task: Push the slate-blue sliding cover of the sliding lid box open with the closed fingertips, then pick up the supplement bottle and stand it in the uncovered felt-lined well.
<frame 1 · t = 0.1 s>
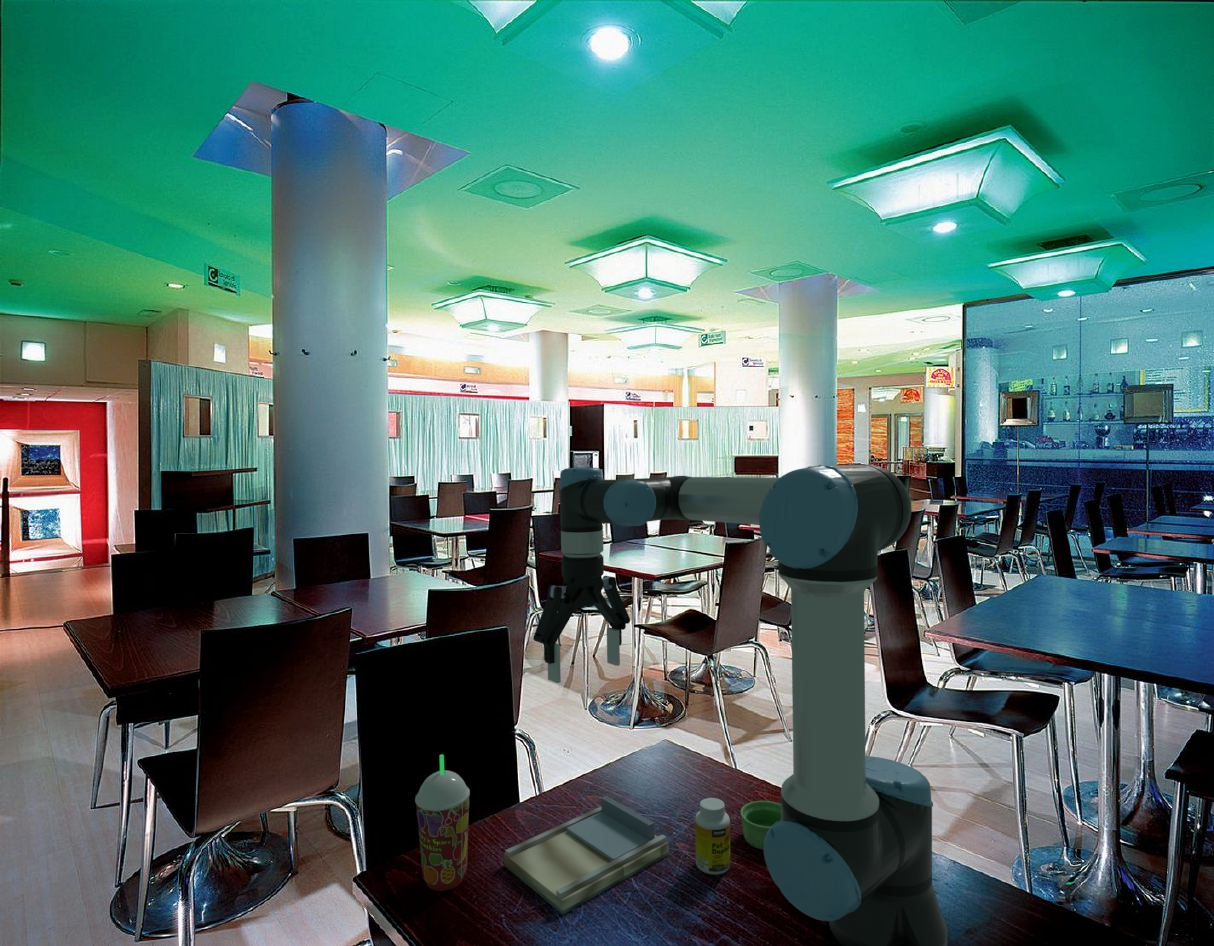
hand: (585, 672, 122), 28 cm above the table, fingers open, 13 cm apart
sliding lid box: (587, 859, 113), on the table
cover: (609, 826, 116), point 4 cm above the table, slide at 0.0 cm
ramekin: (767, 839, 118), on the table
supplement bottle: (713, 867, 110), on the table
smoothie: (445, 881, 108), on the table
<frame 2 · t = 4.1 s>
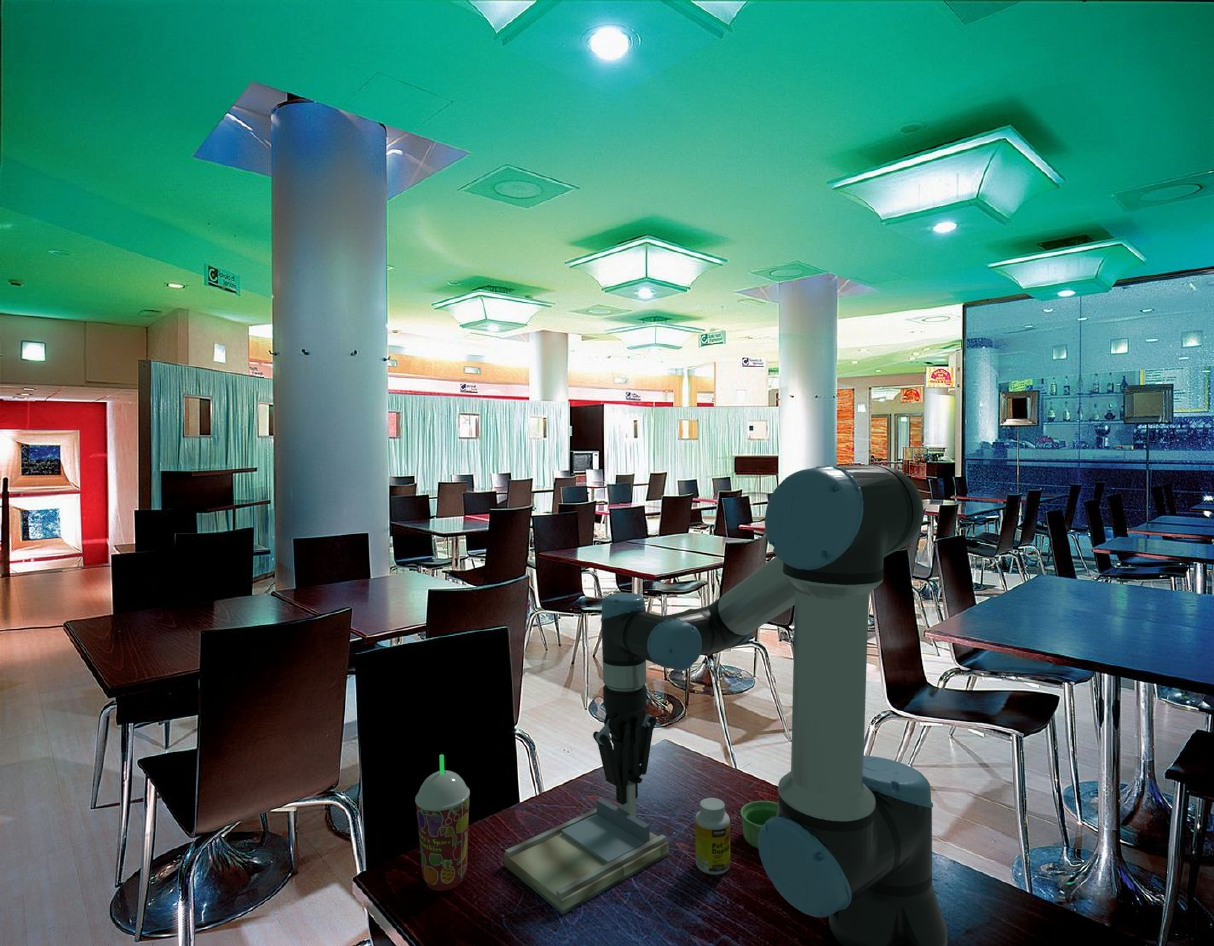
hand: (627, 818, 119), 3 cm above the table, fingers closed
cover: (604, 829, 115), point 4 cm above the table, slide at 1.1 cm, touching gripper
everything else where it was.
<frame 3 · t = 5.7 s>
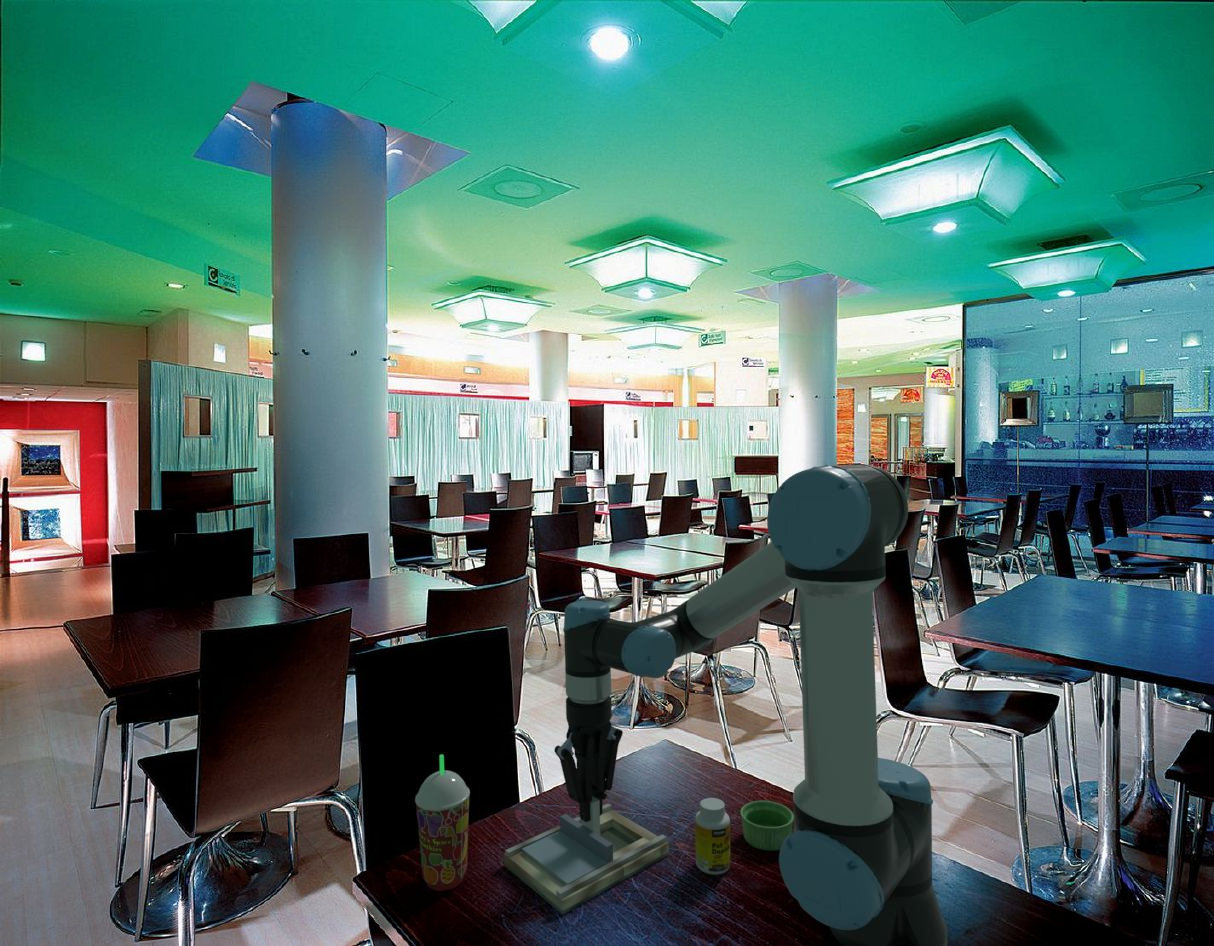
hand: (591, 836, 113), 3 cm above the table, fingers closed
cover: (566, 847, 110), point 4 cm above the table, slide at 9.2 cm, touching gripper
everything else where it was.
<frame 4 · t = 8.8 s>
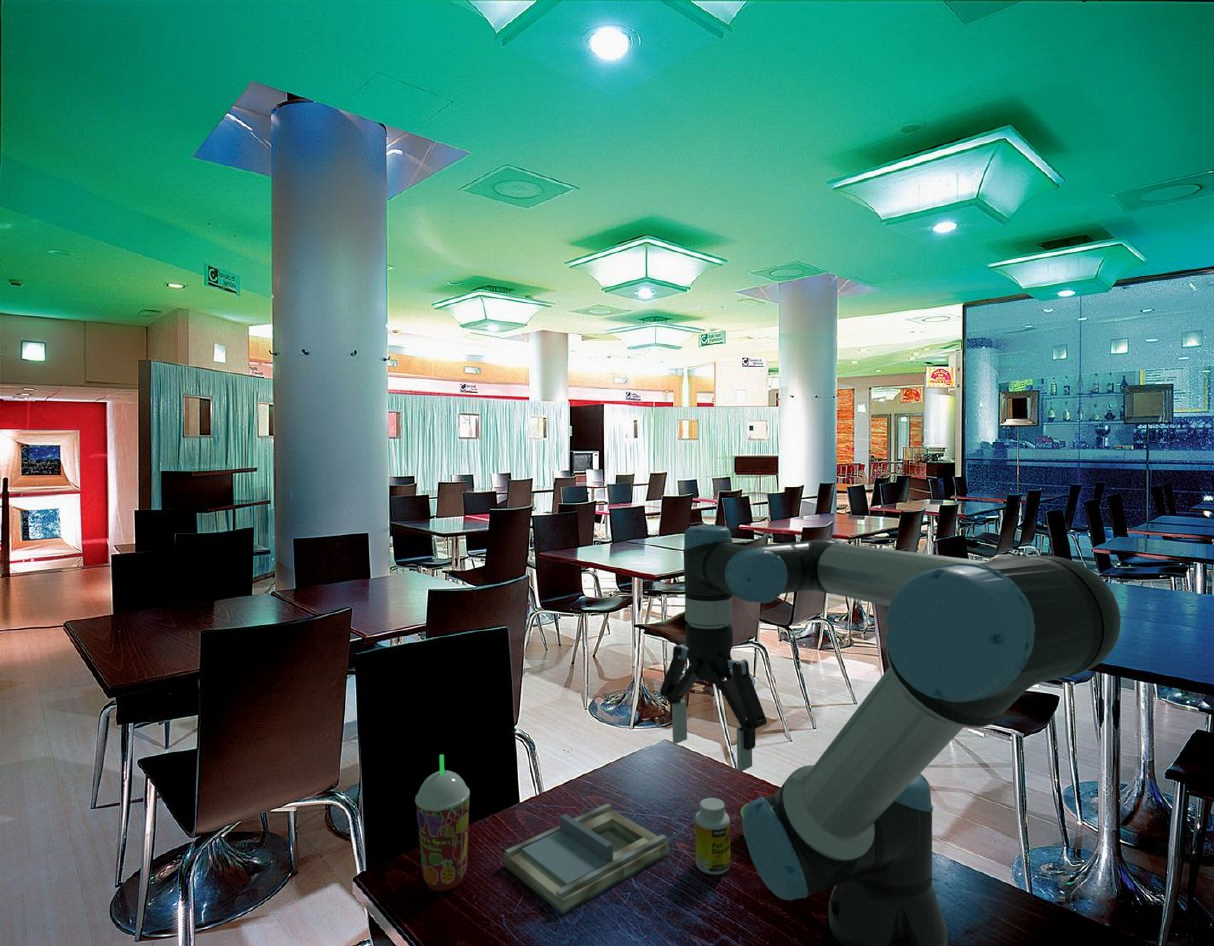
hand: (710, 754, 110), 18 cm above the table, fingers open, 13 cm apart
cover: (566, 847, 110), point 4 cm above the table, slide at 9.2 cm
everything else where it was.
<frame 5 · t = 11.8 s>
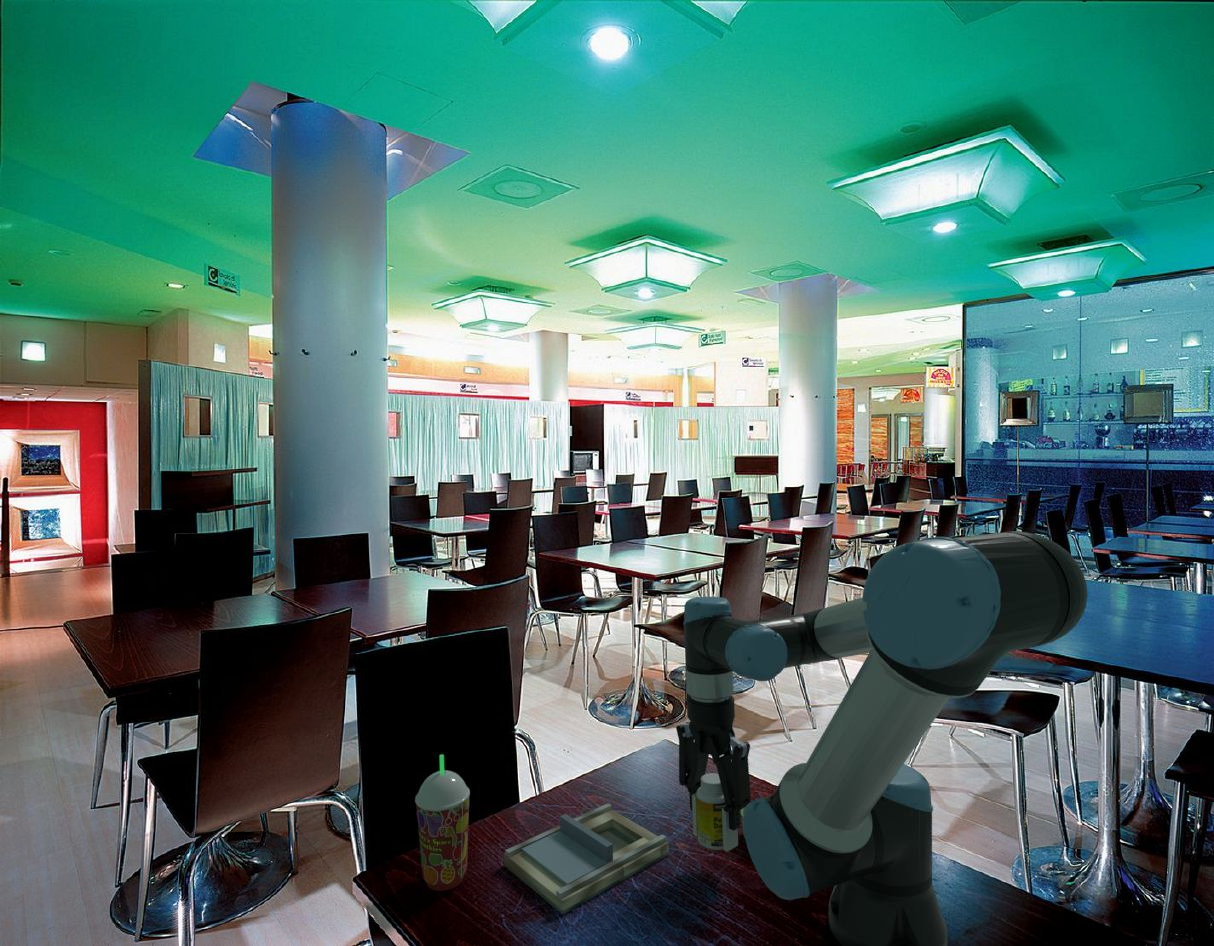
hand: (715, 839, 109), 5 cm above the table, fingers closed on supplement bottle, 6 cm apart
supplement bottle: (715, 843, 109), point 4 cm above the table, touching gripper
everything else where it was.
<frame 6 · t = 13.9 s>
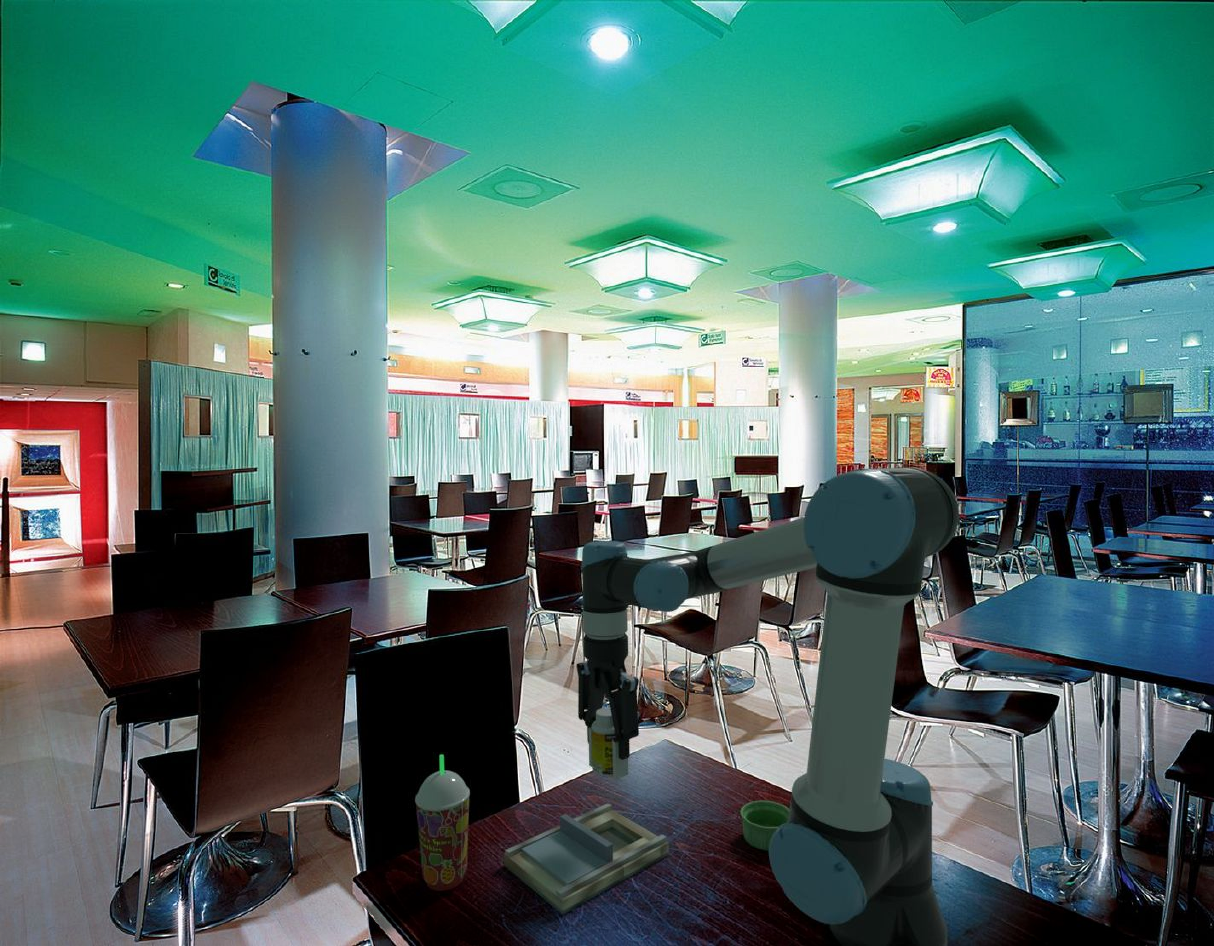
hand: (608, 769, 116), 13 cm above the table, fingers closed on supplement bottle, 6 cm apart
supplement bottle: (608, 772, 116), point 13 cm above the table, touching gripper
everything else where it was.
when the fingers open (2 cm above the table, at t = 16.1 s): supplement bottle drops 1 cm, resting on sliding lid box.
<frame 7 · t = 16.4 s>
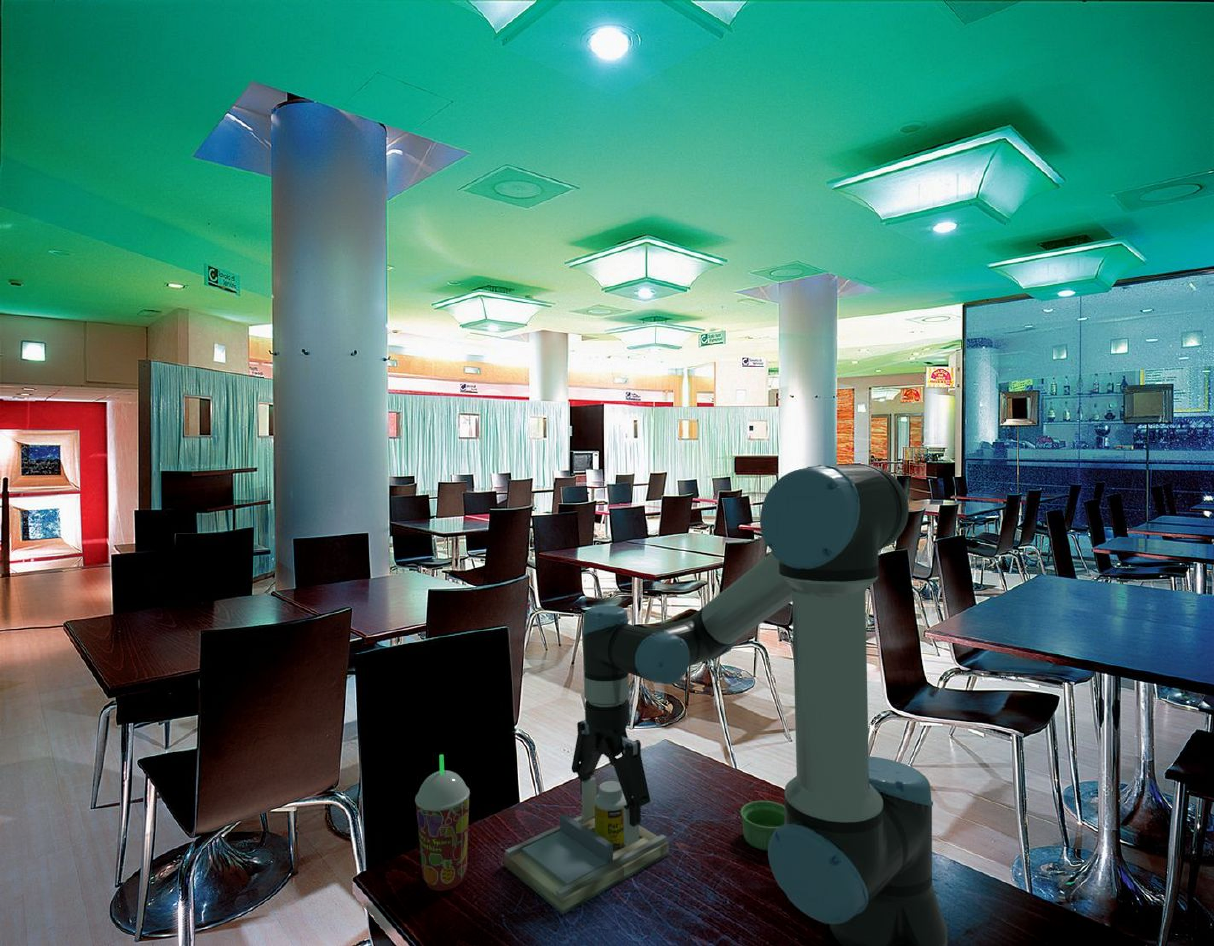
hand: (609, 828, 116), 3 cm above the table, fingers open, 10 cm apart
supplement bottle: (611, 846, 116), resting on sliding lid box
everything else where it was.
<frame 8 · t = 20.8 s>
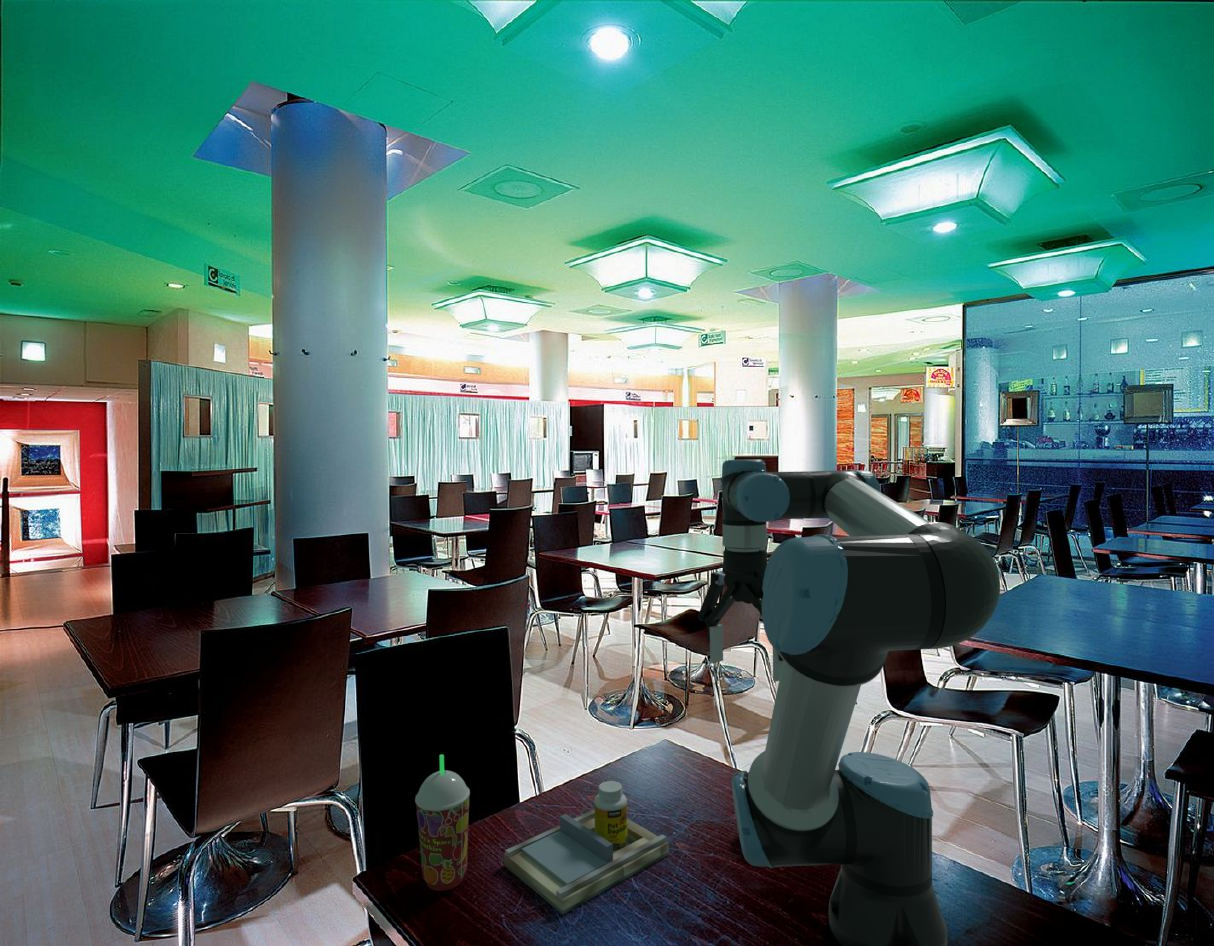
hand: (746, 670, 119), 29 cm above the table, fingers open, 13 cm apart
nothing on the table moved.
at the end: cover slide at 9.2 cm; supplement bottle 0.2 cm from the target spot on the sliding lid box, point 0.3 cm above the sliding lid box's base; supplement bottle tilted 0° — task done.
